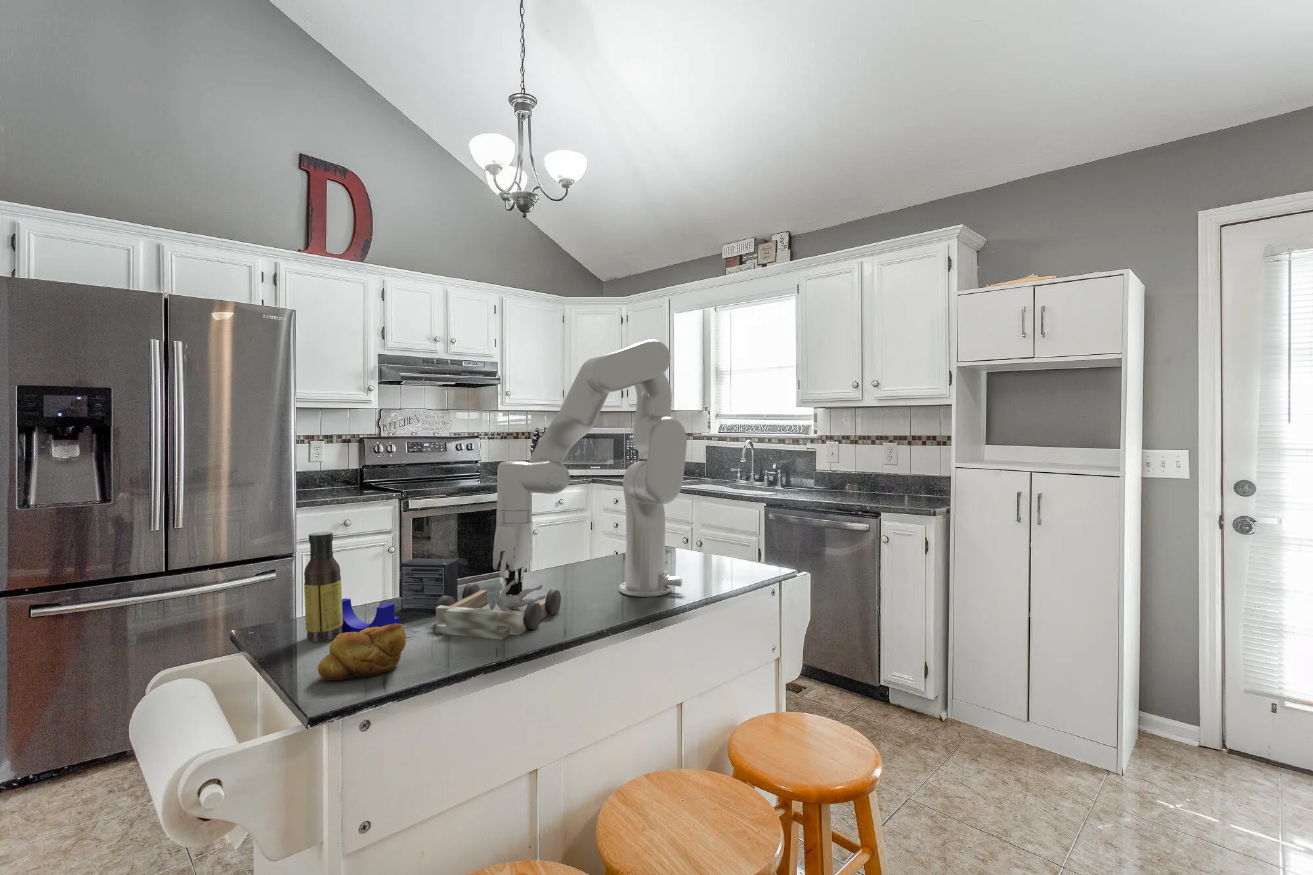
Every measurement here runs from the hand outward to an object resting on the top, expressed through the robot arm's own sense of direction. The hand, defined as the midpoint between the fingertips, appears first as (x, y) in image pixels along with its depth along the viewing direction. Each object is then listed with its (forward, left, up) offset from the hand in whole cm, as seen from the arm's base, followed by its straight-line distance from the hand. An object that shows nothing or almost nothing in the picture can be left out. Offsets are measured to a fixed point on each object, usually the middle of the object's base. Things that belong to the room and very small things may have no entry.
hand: (513, 599), depth 140 cm
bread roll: (+8, +39, -2) cm, 40 cm away
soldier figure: (-2, +2, -1) cm, 3 cm away
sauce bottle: (+25, +27, -2) cm, 37 cm away
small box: (+17, +5, -2) cm, 18 cm away
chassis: (-1, +10, -2) cm, 10 cm away
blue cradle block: (+20, +22, -2) cm, 30 cm away
